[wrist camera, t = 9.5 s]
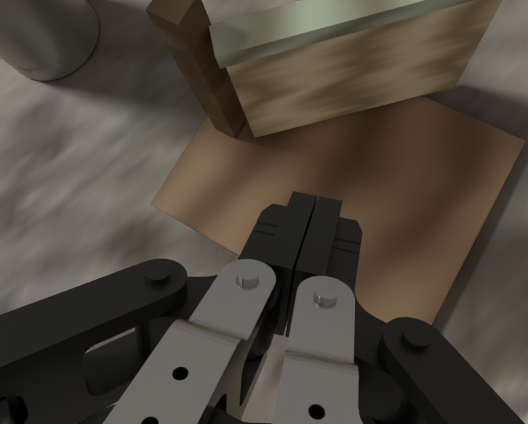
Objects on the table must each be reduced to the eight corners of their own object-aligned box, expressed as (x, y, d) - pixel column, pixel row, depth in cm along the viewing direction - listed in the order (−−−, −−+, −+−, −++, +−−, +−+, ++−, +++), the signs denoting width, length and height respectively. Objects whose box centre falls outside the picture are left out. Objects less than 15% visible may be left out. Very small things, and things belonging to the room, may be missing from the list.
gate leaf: (251, 141, 36) (215, 56, 25) (246, 119, 37) (208, 25, 25) (459, 88, 35) (526, -28, 23) (451, 66, 36) (513, -59, 24)
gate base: (155, 206, 38) (35, 129, 22) (264, 32, 40) (224, -147, 25) (412, 356, 32) (488, 390, 17) (520, 145, 35) (673, 8, 19)
